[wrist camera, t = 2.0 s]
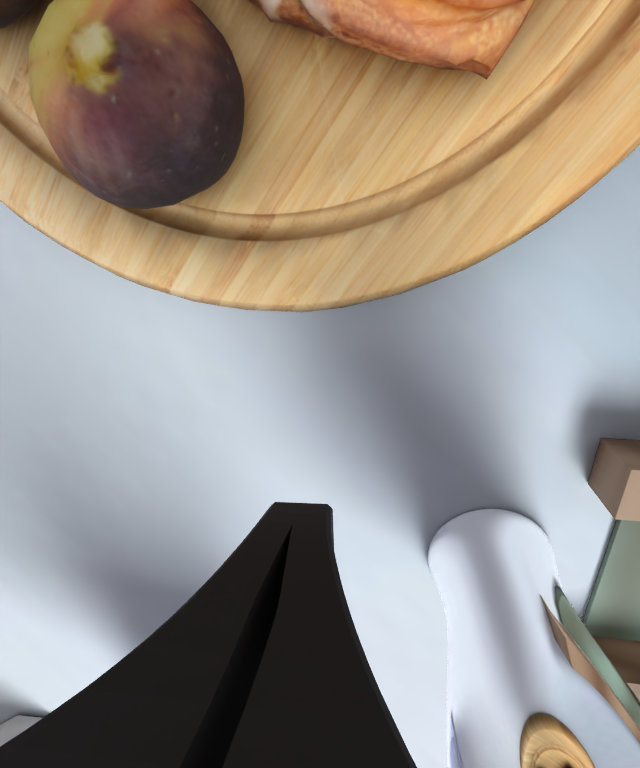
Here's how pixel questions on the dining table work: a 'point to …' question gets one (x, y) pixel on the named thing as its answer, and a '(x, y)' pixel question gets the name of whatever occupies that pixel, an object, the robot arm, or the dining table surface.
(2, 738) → the flask
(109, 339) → the dining table surface
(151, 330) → the dining table surface
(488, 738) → the beer glass
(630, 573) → the cradle
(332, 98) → the wooden plate with food
